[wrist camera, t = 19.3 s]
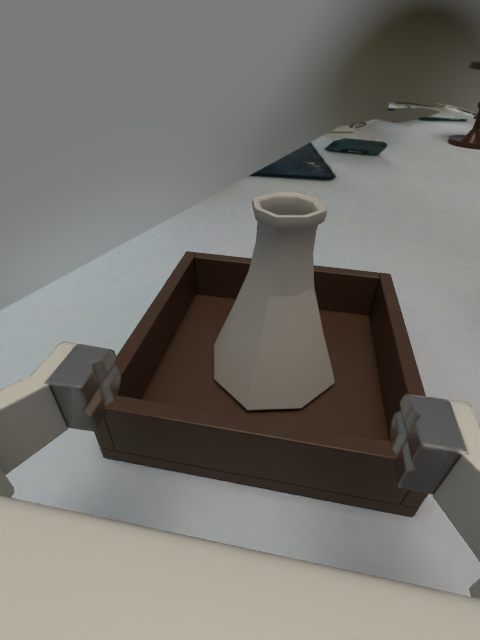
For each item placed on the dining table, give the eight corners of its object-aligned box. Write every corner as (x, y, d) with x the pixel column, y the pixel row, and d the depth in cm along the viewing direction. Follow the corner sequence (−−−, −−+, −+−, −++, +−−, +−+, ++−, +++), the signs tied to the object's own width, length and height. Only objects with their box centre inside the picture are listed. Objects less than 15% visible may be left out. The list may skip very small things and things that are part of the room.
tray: (103, 457, 18) (83, 404, 15) (189, 295, 29) (186, 250, 27) (413, 517, 16) (447, 468, 13) (375, 319, 27) (390, 273, 25)
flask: (196, 343, 23) (186, 186, 17) (294, 319, 26) (315, 173, 20) (237, 432, 18) (243, 251, 12) (356, 392, 20) (412, 223, 14)
